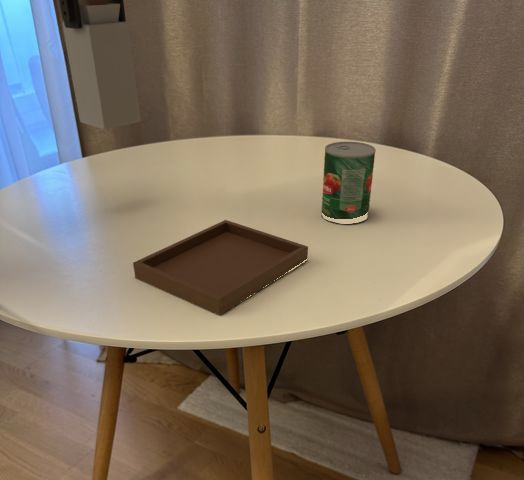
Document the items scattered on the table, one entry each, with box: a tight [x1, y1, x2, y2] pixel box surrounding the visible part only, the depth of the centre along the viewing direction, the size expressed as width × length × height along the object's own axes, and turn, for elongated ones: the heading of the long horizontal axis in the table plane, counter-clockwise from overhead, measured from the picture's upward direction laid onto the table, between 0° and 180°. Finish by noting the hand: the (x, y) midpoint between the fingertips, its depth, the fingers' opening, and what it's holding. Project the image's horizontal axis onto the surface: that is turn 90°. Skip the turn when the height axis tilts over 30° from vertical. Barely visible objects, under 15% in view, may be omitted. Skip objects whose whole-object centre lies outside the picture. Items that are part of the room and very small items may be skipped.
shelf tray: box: [132, 219, 309, 316], centre depth 76 cm, size 19×16×2 cm
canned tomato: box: [321, 140, 377, 219], centre depth 89 cm, size 8×8×11 cm
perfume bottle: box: [61, 0, 142, 130], centre depth 81 cm, size 7×7×18 cm
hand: (96, 24), depth 79 cm, fingers closed on perfume bottle, 7 cm apart
